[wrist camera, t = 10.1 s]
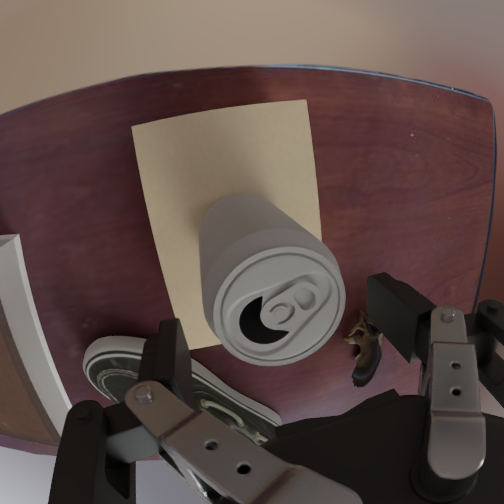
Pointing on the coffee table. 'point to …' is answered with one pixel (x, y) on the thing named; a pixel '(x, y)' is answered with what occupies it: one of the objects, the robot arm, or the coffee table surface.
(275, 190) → the lidded cardboard box
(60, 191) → the coffee table surface
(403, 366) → the coffee table surface
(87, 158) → the coffee table surface
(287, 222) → the beverage can
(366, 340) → the eagle figurine
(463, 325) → the robot arm
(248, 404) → the boat shoe
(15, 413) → the book
